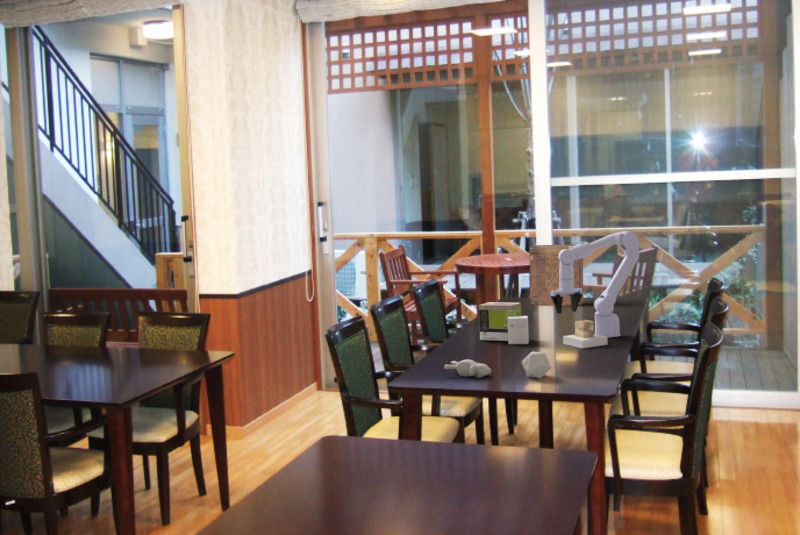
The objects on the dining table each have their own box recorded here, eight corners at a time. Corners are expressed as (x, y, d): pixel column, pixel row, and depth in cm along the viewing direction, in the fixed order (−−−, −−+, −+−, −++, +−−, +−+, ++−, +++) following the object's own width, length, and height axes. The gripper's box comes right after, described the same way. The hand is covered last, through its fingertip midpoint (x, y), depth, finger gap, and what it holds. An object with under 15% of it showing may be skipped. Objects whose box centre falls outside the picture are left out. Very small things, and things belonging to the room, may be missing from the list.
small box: (529, 341, 354) (528, 315, 353) (528, 344, 349) (527, 317, 348) (508, 341, 356) (508, 315, 355) (508, 344, 351) (507, 318, 350)
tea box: (523, 337, 363) (521, 302, 361) (513, 342, 354) (512, 305, 352) (489, 336, 370) (488, 301, 369) (479, 340, 361) (477, 304, 360)
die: (525, 375, 299) (514, 355, 294) (547, 361, 299) (536, 340, 294) (535, 389, 292) (524, 368, 287) (558, 374, 292) (547, 354, 287)
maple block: (585, 334, 348) (585, 319, 347) (593, 336, 343) (593, 321, 343) (575, 336, 346) (574, 321, 345) (583, 338, 341) (583, 322, 341)
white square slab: (587, 340, 352) (587, 332, 352) (607, 344, 342) (607, 336, 341) (563, 343, 347) (563, 336, 347) (582, 348, 336) (582, 340, 336)
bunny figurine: (483, 368, 291) (442, 360, 298) (482, 383, 292) (441, 374, 299) (494, 362, 300) (454, 354, 307) (493, 377, 301) (453, 368, 307)
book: (530, 305, 451) (528, 246, 448) (534, 302, 460) (533, 245, 457) (580, 306, 442) (579, 246, 439) (583, 303, 450) (582, 244, 447)
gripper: (574, 276, 364) (574, 309, 365) (545, 279, 357) (546, 312, 358) (585, 278, 357) (585, 311, 359) (556, 281, 351) (556, 314, 352)
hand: (566, 312), depth 358 cm, fingers open, 7 cm apart
